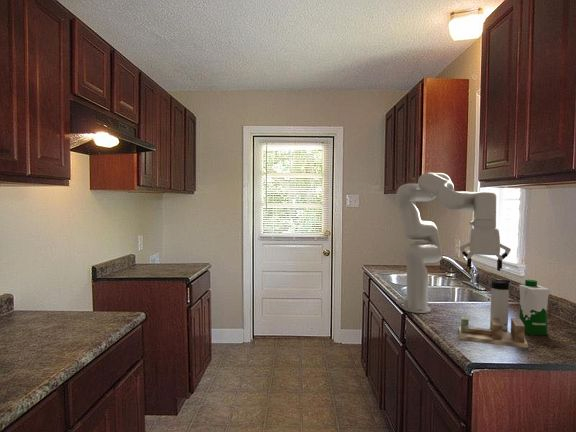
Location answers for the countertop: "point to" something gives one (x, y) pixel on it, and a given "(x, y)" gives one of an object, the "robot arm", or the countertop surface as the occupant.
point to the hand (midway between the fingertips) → (484, 269)
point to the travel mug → (500, 301)
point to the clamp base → (507, 338)
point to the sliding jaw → (494, 328)
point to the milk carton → (534, 307)
